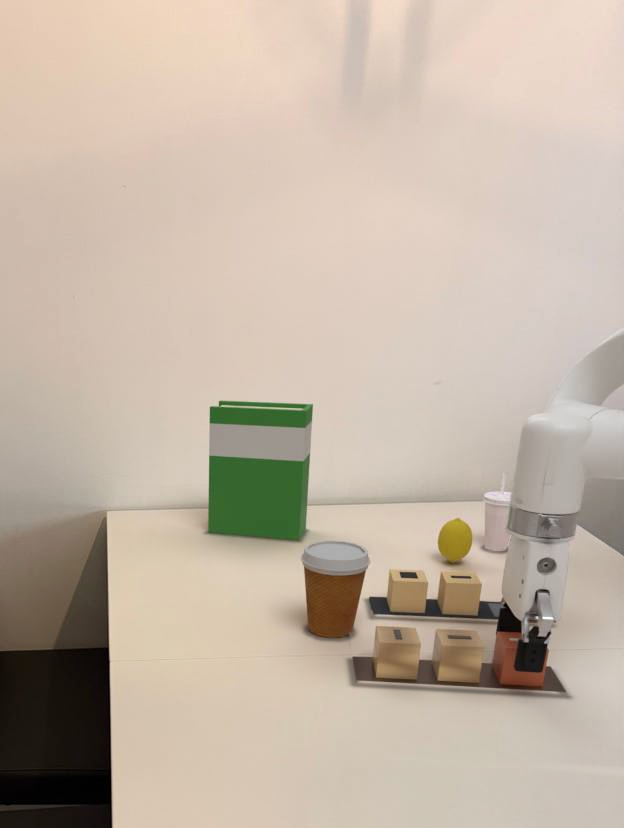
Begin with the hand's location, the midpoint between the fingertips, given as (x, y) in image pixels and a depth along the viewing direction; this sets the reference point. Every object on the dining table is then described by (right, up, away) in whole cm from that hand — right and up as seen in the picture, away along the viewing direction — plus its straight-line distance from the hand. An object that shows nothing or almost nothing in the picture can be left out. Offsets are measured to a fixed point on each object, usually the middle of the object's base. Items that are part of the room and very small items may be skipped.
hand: (517, 653), depth 108 cm
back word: (0, +5, +22) cm, 23 cm away
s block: (0, -3, +1) cm, 3 cm away
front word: (-7, -3, +3) cm, 8 cm away
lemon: (+7, +13, +42) cm, 44 cm away
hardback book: (-25, +21, +60) cm, 68 cm away
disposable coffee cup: (-20, +2, +17) cm, 26 cm away
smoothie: (+17, +16, +49) cm, 54 cm away
